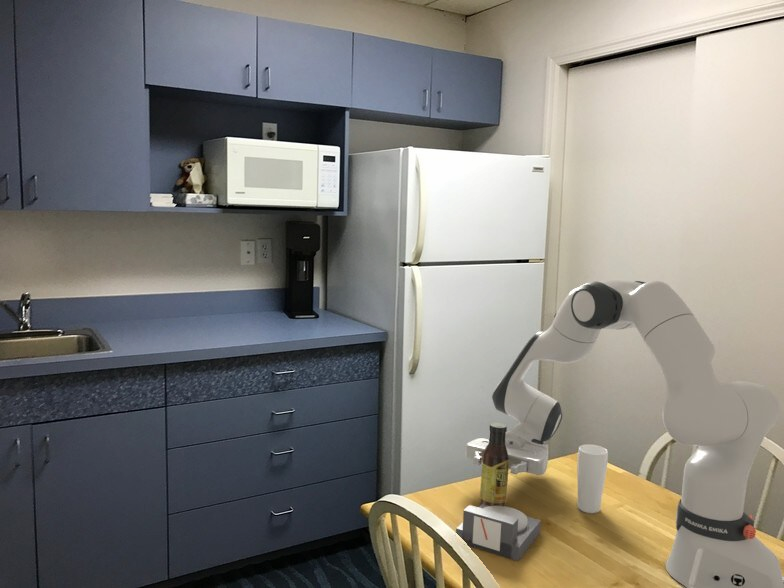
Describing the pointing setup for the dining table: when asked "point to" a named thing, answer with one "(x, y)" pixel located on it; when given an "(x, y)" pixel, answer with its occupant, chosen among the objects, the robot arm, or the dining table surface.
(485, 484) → the sauce bottle
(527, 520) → the kitchen scale
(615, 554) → the dining table surface
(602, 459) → the drinking glass
